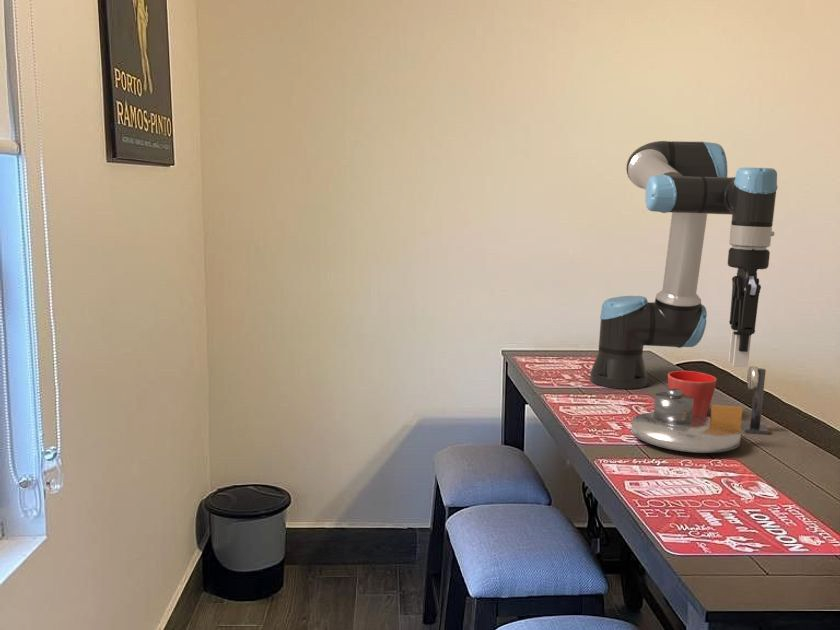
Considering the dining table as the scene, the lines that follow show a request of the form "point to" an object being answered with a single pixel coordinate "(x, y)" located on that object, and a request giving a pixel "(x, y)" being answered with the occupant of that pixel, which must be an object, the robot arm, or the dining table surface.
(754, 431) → the dial post
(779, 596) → the dining table surface
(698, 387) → the flower pot
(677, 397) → the cover
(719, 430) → the turntable
